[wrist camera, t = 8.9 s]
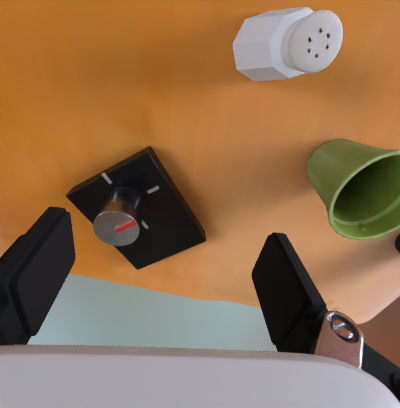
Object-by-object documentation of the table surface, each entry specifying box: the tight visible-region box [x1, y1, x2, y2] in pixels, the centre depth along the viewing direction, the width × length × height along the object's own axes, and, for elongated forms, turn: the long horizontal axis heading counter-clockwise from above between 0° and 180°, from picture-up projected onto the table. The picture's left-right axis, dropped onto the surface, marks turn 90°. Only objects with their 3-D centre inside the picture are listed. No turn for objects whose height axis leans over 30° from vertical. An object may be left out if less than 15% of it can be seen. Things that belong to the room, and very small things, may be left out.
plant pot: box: [307, 139, 400, 240], centre depth 25 cm, size 9×9×9 cm
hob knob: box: [93, 186, 146, 246], centre depth 25 cm, size 4×4×5 cm
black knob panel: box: [66, 146, 206, 270], centre depth 29 cm, size 14×11×2 cm
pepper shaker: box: [232, 7, 343, 82], centre depth 17 cm, size 5×5×11 cm
